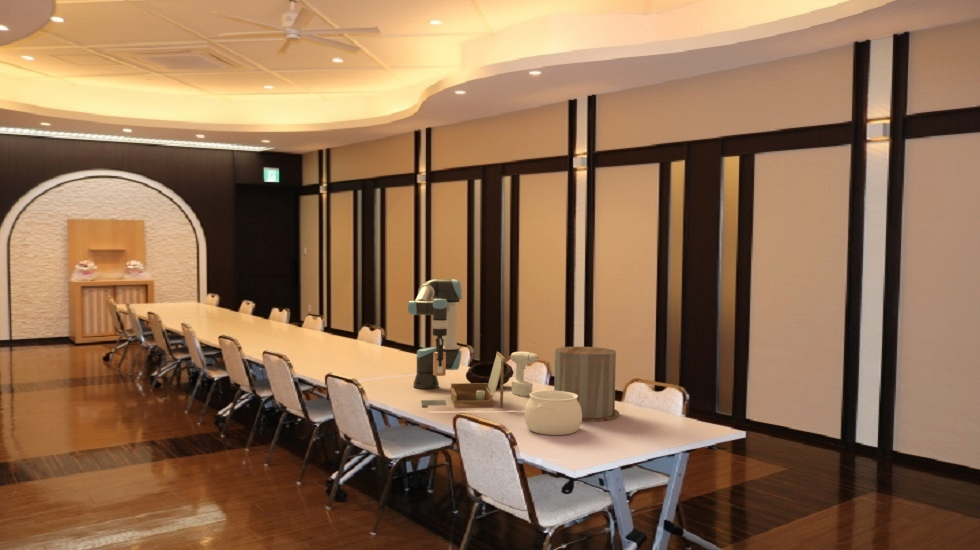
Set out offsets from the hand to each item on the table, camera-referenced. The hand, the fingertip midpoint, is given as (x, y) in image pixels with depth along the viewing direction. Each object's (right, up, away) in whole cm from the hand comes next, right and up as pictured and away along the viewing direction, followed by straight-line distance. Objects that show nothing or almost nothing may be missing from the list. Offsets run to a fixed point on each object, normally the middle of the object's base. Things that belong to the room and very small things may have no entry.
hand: (439, 371), depth 395 cm
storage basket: (+75, -20, -17) cm, 79 cm away
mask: (+27, -17, +52) cm, 61 cm away
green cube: (+22, -17, +3) cm, 28 cm away
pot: (+56, -21, -52) cm, 79 cm away
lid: (+30, -1, +4) cm, 30 cm away
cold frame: (+20, -18, +2) cm, 27 cm away
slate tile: (-3, -18, 0) cm, 18 cm away
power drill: (+47, -18, +30) cm, 58 cm away
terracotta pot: (0, -2, 0) cm, 2 cm away
